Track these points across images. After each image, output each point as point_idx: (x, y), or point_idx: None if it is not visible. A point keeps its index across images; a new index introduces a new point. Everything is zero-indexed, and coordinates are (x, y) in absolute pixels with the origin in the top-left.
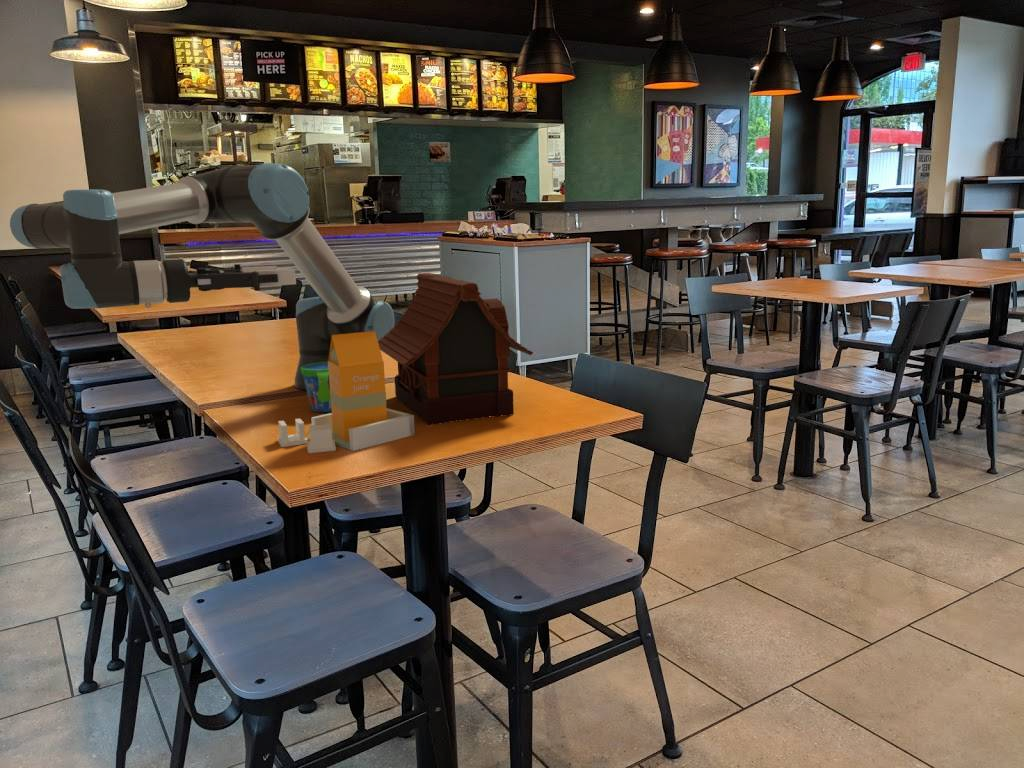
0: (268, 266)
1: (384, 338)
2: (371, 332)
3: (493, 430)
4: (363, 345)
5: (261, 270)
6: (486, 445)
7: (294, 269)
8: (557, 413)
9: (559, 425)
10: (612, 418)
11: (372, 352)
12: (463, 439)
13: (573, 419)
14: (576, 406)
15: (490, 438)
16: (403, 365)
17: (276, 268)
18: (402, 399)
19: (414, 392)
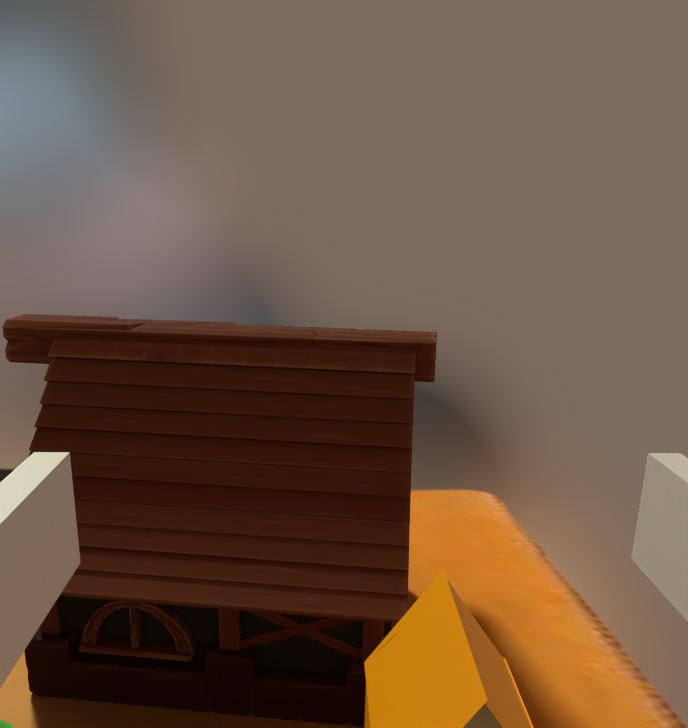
0: (37, 485)
1: None
2: (444, 581)
3: (502, 643)
4: (482, 649)
5: (5, 558)
6: (624, 692)
7: (679, 456)
8: (424, 539)
9: (506, 562)
10: (491, 510)
11: (492, 652)
12: (561, 711)
13: (475, 539)
14: None
15: (567, 668)
16: (383, 620)
17: (69, 474)
18: (115, 694)
19: (252, 663)
